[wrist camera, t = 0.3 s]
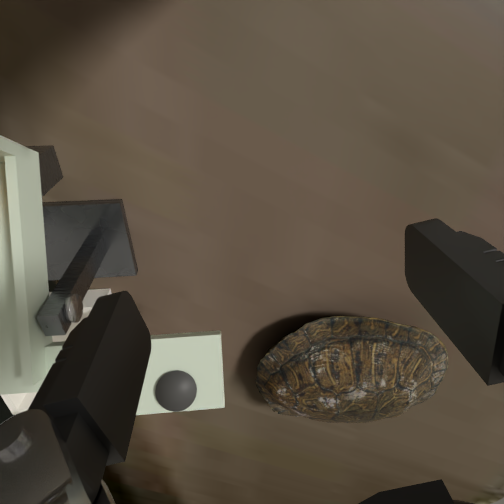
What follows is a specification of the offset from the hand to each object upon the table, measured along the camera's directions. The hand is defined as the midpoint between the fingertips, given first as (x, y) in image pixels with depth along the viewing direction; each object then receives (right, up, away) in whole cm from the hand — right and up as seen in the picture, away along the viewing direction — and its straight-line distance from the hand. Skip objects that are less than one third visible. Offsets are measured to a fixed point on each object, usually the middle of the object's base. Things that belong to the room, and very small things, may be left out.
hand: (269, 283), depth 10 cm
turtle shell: (+10, -11, +31) cm, 34 cm away
